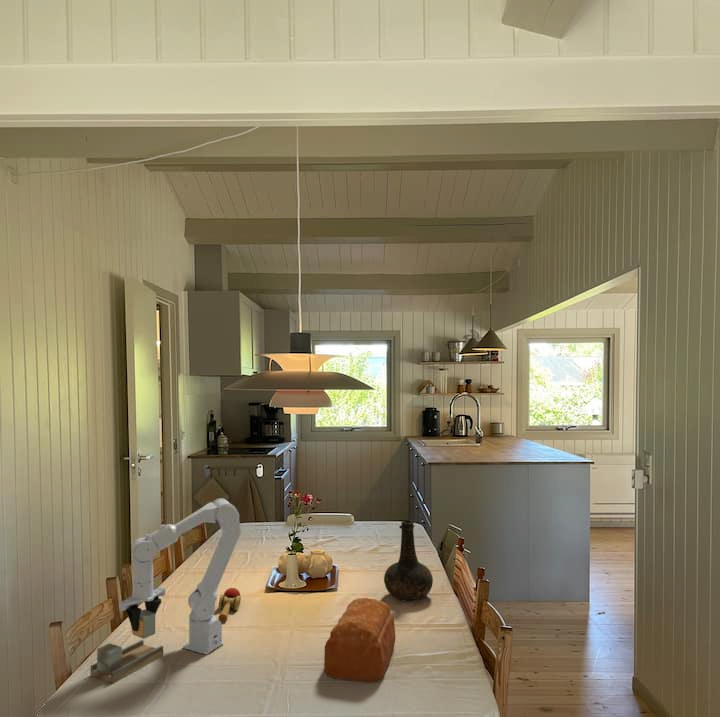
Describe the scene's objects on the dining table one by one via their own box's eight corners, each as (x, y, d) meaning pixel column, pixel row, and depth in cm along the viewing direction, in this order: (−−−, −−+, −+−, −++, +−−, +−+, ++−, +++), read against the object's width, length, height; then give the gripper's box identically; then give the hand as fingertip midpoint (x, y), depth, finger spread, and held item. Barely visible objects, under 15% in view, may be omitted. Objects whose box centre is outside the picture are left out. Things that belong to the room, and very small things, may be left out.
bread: (320, 677, 170) (320, 623, 170) (343, 639, 193) (343, 591, 194) (381, 685, 166) (382, 629, 166) (397, 645, 190) (397, 596, 190)
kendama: (236, 626, 206) (246, 598, 224) (233, 608, 205) (242, 582, 223) (214, 630, 206) (224, 601, 224) (210, 612, 205) (221, 585, 223)
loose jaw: (155, 633, 181) (155, 613, 181) (142, 639, 177) (142, 618, 177) (144, 629, 184) (144, 609, 184) (131, 635, 180) (131, 614, 180)
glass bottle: (436, 591, 234) (436, 517, 234) (427, 609, 217) (427, 529, 217) (391, 586, 239) (391, 513, 240) (378, 603, 222) (378, 525, 223)
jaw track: (163, 655, 182) (163, 629, 182) (113, 683, 166) (113, 655, 166) (141, 648, 186) (141, 623, 186) (90, 675, 170) (90, 648, 170)
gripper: (130, 590, 173) (129, 639, 173) (172, 576, 185) (171, 621, 185) (114, 585, 177) (114, 633, 177) (156, 571, 189) (156, 616, 189)
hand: (142, 627), depth 181 cm, fingers closed on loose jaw, 4 cm apart
